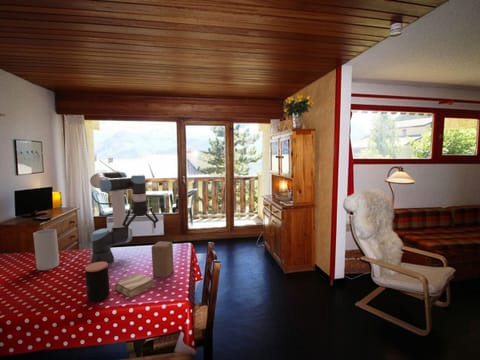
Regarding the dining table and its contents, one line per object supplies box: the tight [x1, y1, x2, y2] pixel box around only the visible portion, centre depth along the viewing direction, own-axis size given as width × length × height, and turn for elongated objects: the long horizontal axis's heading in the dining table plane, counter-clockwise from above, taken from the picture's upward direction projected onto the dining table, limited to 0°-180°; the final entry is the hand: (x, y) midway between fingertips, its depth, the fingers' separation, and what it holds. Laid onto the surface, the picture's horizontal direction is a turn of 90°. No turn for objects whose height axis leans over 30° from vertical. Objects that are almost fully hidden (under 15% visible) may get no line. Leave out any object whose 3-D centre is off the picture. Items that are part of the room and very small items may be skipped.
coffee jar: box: [84, 262, 111, 304], centre depth 135 cm, size 11×11×18 cm
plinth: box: [115, 272, 155, 298], centre depth 146 cm, size 15×15×4 cm
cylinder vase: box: [32, 228, 60, 271], centre depth 174 cm, size 12×12×25 cm
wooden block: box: [151, 240, 175, 278], centre depth 161 cm, size 10×10×20 cm
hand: (141, 235), depth 153 cm, fingers open, 13 cm apart
